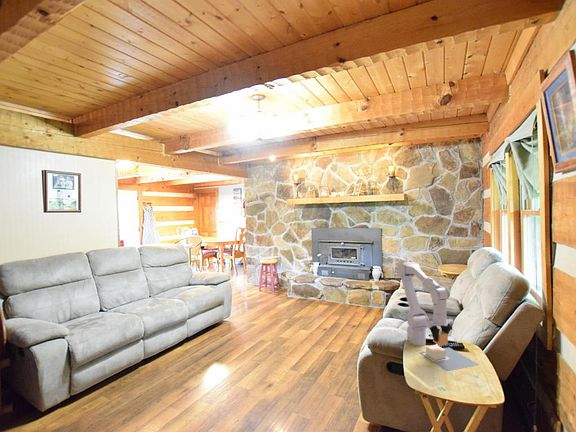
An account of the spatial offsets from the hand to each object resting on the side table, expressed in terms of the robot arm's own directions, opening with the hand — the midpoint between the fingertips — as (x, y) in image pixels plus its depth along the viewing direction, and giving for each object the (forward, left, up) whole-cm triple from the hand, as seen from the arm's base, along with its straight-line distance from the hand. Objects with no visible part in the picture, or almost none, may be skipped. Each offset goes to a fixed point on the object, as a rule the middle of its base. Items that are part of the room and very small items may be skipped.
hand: (440, 340), depth 147 cm
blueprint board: (+2, +2, -9) cm, 9 cm away
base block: (-1, -2, -8) cm, 8 cm away
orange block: (0, 0, -1) cm, 1 cm away
